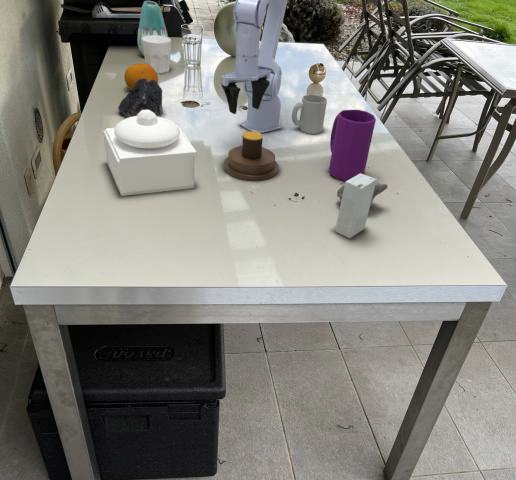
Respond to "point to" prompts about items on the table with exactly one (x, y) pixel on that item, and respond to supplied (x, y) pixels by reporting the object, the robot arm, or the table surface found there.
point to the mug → (350, 143)
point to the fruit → (139, 74)
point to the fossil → (377, 190)
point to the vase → (150, 23)
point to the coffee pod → (252, 145)
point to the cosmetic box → (355, 205)
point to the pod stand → (251, 165)
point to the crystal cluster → (142, 99)
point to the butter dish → (149, 155)
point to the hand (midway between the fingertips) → (244, 110)
